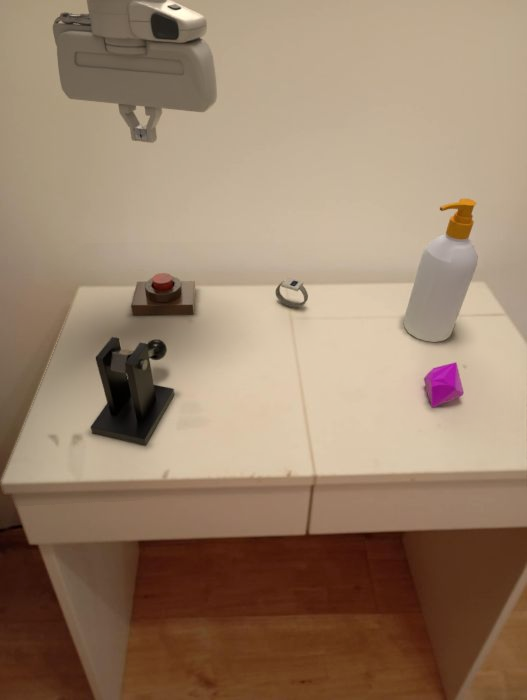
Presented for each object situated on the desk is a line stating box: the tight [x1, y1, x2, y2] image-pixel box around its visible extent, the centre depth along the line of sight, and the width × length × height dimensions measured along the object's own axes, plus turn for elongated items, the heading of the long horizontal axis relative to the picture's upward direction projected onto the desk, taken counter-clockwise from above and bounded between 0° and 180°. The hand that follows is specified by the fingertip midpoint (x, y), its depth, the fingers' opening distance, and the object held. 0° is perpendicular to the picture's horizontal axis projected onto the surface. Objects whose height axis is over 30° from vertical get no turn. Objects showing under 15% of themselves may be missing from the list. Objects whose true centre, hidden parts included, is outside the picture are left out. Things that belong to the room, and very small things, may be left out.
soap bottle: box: [403, 198, 479, 343], centre depth 78 cm, size 9×9×24 cm
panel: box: [130, 275, 197, 316], centre depth 88 cm, size 11×8×4 cm
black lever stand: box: [90, 336, 175, 446], centre depth 64 cm, size 10×8×12 cm
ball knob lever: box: [110, 338, 168, 373], centre depth 66 cm, size 13×3×3 cm
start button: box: [151, 272, 173, 291], centre depth 86 cm, size 4×4×2 cm
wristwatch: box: [275, 277, 309, 309], centre depth 88 cm, size 6×3×5 cm, turn 64°
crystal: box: [423, 361, 465, 408], centre depth 71 cm, size 5×5×5 cm
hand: (144, 140), depth 64 cm, fingers closed
